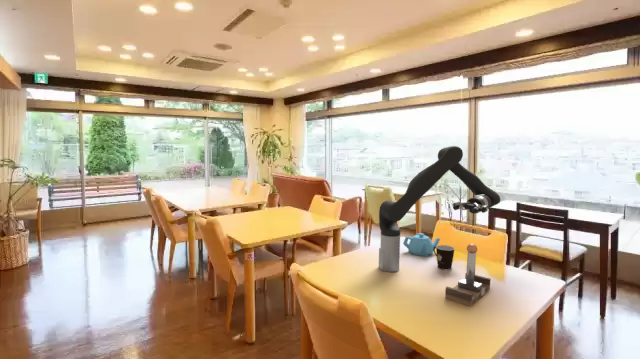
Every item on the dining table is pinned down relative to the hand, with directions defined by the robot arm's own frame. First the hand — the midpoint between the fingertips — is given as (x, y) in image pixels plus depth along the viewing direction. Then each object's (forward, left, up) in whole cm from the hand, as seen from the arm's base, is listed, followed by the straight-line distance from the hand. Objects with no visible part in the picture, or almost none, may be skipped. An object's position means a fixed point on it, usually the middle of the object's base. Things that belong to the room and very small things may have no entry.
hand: (464, 209), depth 158 cm
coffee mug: (-1, +15, -32) cm, 36 cm away
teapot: (-3, +37, -32) cm, 49 cm away
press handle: (-4, -15, -30) cm, 34 cm away
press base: (-6, -16, -32) cm, 36 cm away
